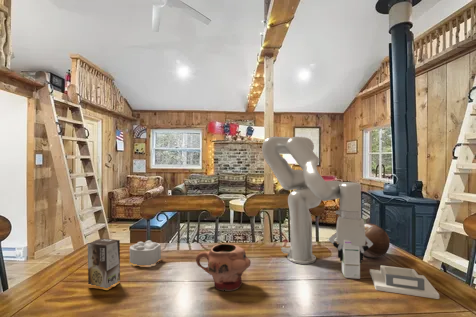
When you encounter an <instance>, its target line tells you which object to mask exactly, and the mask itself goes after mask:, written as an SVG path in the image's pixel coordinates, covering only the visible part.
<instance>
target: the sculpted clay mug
mask: <svg viewBox="0 0 476 317" xmlns="http://www.w3.org/2000/svg"><path fill="white" fill-rule="evenodd" d="M202 258H206V260H207V267H205V266H203V264H201V262H200V261H201V259H202ZM195 261H196V262H195V263H196V264H197V266H198V267H199V268H201V269H202V270H203V271H204V272H206V273H208V275H210V276H212V279H213V283H214V288H215V287H216V288H215V289H217V290H220V291H224V290H225V292H226V291H236V290H238V289H239V288H241V286H242V281H243V280H242V275H243V273H244V272H245V271H246V270H247V269H248V268H249V267H250V266H251V262H252V261H251V259H250V258H248V257H247V254H246V251H245V249H244V248H243V247H240V246H239V245H237V244H230V243H228V244H227V243H220V244H216V245H214V246H212V247H211V248H210V250H209V251H201V252H199V253H197V254H196V256H195Z"/></svg>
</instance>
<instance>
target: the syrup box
mask: <svg viewBox="0 0 476 317" xmlns="http://www.w3.org/2000/svg"><path fill="white" fill-rule="evenodd" d="M341 249H342V261H341V272H342V274H343V277H344V278H346V279H347V278H348V279H355V280H357V279H358V280H359V279H361V263H360V248H359V246H354V245H351V241H348V240H344V245H343V246H342V248H341Z"/></svg>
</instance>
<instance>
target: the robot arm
mask: <svg viewBox="0 0 476 317" xmlns="http://www.w3.org/2000/svg"><path fill="white" fill-rule="evenodd" d="M314 149H315V145H314V142H313V141H312V140H311V138H309V137H305V136H293V137H288V136H287V137H285V136H284V137H283V136H270V137H267V138H265V140H264V141H263V142H262V146H261V153H262V156H263V159H264V160H265V162H266V164H267V165H268V166H269V168H270V169H271V171H272V173H273V175H274V176H275V178H276V180H277V181H278V184H280V186H281V187H282V189H283V190H285V191H291V192H290V193H289V195H288V196H287V204H288V209H289V220H290V221H289V224H290V230H289V231H290V232H289V233H290V246H289V247H283V246H282V247H281V249H280V250H281V251H280V252H282V253H283V254H287V259H288V261H290V262H292V263H295V264H300V265H308V264H309V265H310V264H314V263H315V262H316V261H317V256H316V255H315V254H313V224H312V223H313V220H312V215H311V212H310V209H314V208H317V207H319V205H320V204H321V203H322V201H325V202H326V201H331V200H336V199H337V200H338V199H339V210H335V215H337V220H336V229H335V230H336V231H335V232H334V234H332V235H331V236H330V237H328V240H329V242H330V243H331V245H333V246H334V248H336V249H337V258H338V259H339V261H340V262H342V249H341V248H342V246H343V245H344V240H348V241H351V245H354V246H359V248H360V265H361V264H362V261H364V255H363V253H364V252H365V251H366V250H367V249H368V248H369V247H371V246H372V245H373V243H372V242H371V241H370V240H369V239H368V238H367V237H366V236H365V226H364V224H365V221H364V219H363V218H362V195H361V194H362V189H361V188H362V187H361V184H359V183H357V182H353V181H351V182H348V181H345V182H344V181H340V180H325V179H324V178H323V177H322V175H321V174H320V173H319V171H318V169H317V167H318V165H319V163H320V158H319V156H317V154H316V153H315V152H314ZM282 155H290V156H291V157H292V158H293V159H294V161H295V162H296V163H297V164H298V166H299V167H300V169H293V168H292V167H291V166H290V164H289V163H288V161H287V159H285V157H283V156H282ZM335 240H336V241H335ZM365 241H366V242H367V244H366V245H365ZM362 246H363V247H362Z"/></svg>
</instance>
